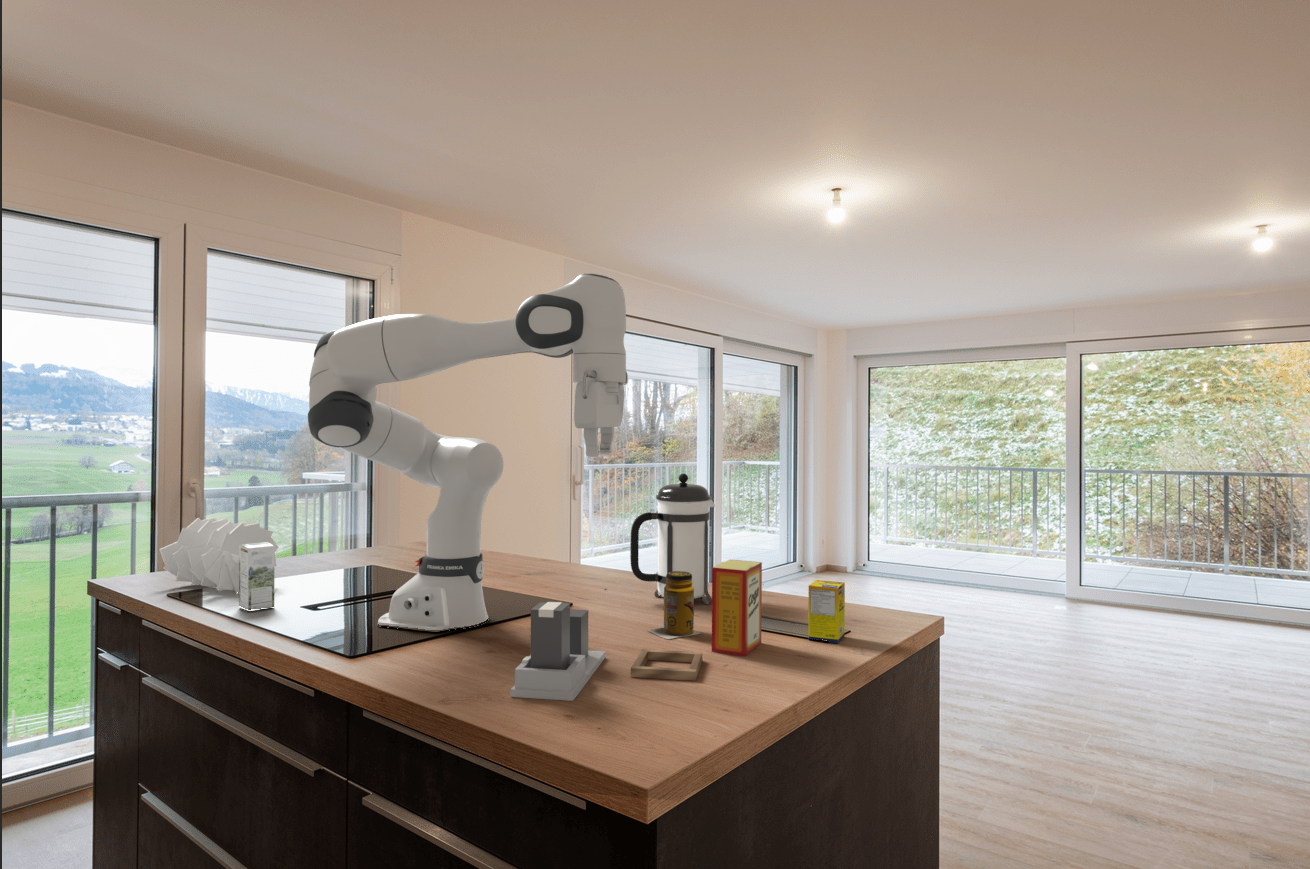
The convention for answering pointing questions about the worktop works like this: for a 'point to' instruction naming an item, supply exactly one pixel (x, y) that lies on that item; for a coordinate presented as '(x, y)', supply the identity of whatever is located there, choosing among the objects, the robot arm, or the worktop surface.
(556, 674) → the tray and post stand
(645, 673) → the holder frame
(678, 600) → the condiment
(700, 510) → the coffee press
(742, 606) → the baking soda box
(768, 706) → the worktop surface
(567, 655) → the dark grey block
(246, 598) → the syrup box
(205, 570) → the spiral staircase
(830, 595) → the supplement box
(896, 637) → the worktop surface
